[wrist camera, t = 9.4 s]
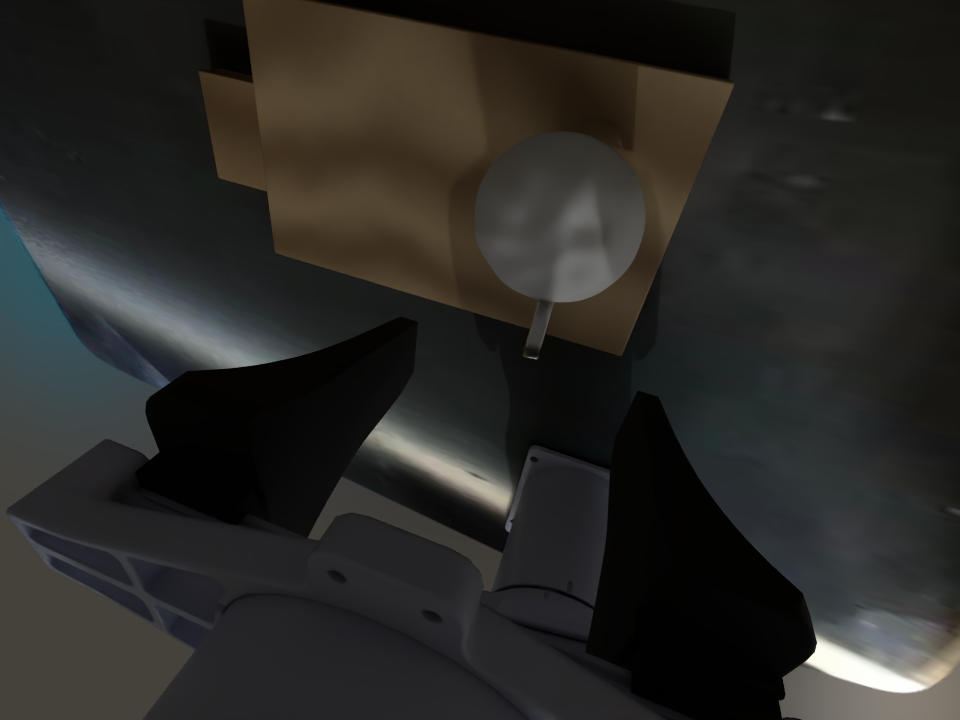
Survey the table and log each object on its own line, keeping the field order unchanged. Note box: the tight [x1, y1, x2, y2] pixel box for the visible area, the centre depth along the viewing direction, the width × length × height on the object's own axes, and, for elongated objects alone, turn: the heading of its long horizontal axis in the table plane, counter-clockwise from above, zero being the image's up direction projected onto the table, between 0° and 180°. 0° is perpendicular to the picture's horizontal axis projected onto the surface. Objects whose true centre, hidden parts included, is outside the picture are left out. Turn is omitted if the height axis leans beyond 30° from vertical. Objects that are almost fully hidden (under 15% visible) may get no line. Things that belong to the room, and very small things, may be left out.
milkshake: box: [475, 119, 646, 359], centre depth 15 cm, size 5×5×10 cm
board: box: [199, 0, 734, 356], centre depth 22 cm, size 12×23×2 cm, turn 81°
